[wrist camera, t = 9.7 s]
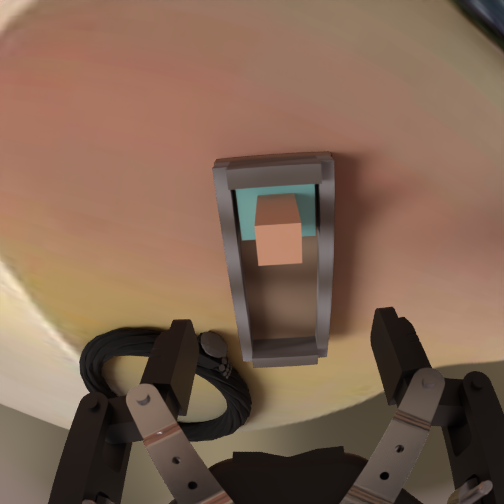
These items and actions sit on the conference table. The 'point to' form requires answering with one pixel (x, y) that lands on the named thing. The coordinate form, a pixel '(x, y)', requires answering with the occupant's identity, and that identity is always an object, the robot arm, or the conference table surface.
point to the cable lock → (208, 367)
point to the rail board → (284, 275)
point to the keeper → (277, 220)
